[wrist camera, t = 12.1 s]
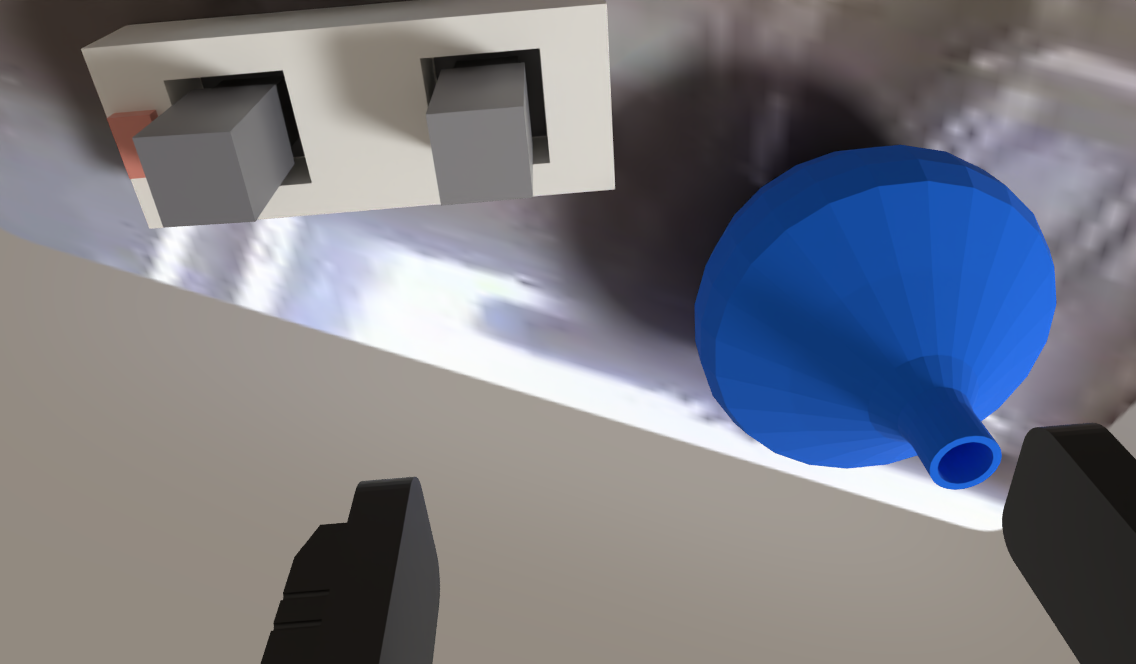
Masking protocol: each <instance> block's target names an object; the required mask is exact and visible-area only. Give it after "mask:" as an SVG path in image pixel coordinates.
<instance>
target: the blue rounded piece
mask: <svg viewBox="0 0 1136 664" xmlns="http://www.w3.org/2000/svg"><path fill="white" fill-rule="evenodd" d="M1055 307H1056V289H1055V272H1054V264H1053V261H1052V257H1051V254H1050V250H1049V248H1048V245H1047V243H1046V241H1045V239H1044V236H1043V234H1042V232H1041V229H1040V227H1039V225H1038V223H1037V220H1036V218H1035V216H1034V214H1033V213H1032V212H1031V211H1030V210H1029V209H1028V208H1027V207H1026V206H1025V205H1024V204H1023V203H1022V202H1021V201H1020V200H1019V199H1018V198H1017V196H1016V195H1015V194H1014V193H1013V192H1012V191H1011V190H1010V189H1009V188H1008V187H1007V186H1006V185H1004V184H1003V183H1002V182H1000V181H999V180H997V179H996V178H995V177H993V176H992V175H990V174H989V173H988V172H986V171H985V170H983V169H981V168H979V167H977V166H975V165H973V164H971V163H968V162H966V161H964V160H962V159H960V158H958V157H956V156H954V155H952V154H950V153H948V152H945V151H938V150H932V149H925V148H918V147H912V146H905V145H893V146H882V147H871V148H862V149H853V150H844V151H835V152H832V153H829V154H826V155H823V156H820V157H818V158H815V159H812V160H809V161H806V162H804V163H801V164H798V165H796V166H794V167H792V168H791V169H789V170H788V171H786V172H785V173H783V174H781V175H780V176H778V177H777V178H775V179H774V180H772V181H770V182H769V183H767V184H766V185H764V186H763V187H761V188H760V189H759V190H758V191H757V192H756V193H755V194H754V195H753V196H752V197H751V198H750V199H749V200H748V201H747V202H746V203H745V204H744V205H743V207H742V208H741V209H740V210H739V211H738V212H737V213H736V214H735V215H734V216H733V218H732V219H731V221H730V223H729V224H728V226H727V228H726V229H725V231H724V233H723V234H722V236H721V238H720V239H719V241H718V243H717V244H716V246H715V248H714V250H713V252H712V254H711V256H710V258H709V260H708V262H707V264H706V266H705V270H704V273H703V277H702V280H701V284H700V287H699V291H698V294H697V298H696V301H695V342H696V346H697V349H698V353H699V357H700V360H701V364H702V367H703V369H704V372H705V375H706V378H707V381H708V384H709V386H710V389H711V392H712V395H713V397H714V398H715V399H716V400H717V402H718V403H719V404H720V405H721V407H722V408H723V409H724V411H725V412H726V413H727V414H728V416H729V417H730V418H731V419H732V421H733V422H734V423H735V424H736V425H737V426H739V427H740V428H741V429H742V430H743V431H744V432H746V433H747V434H748V435H749V436H751V437H752V438H754V439H755V440H757V441H758V442H760V443H761V444H763V445H764V446H766V447H767V448H769V449H770V450H771V451H773V452H774V453H777V454H780V455H782V456H785V457H788V458H791V459H794V460H797V461H800V462H803V463H806V464H809V465H818V466H828V467H837V468H856V467H866V466H876V465H886V464H890V463H893V462H896V461H900V460H903V459H907V458H910V457H913V456H917V455H918V456H919V458H920V460H921V461H922V463H923V465H924V466H925V468H926V470H927V471H928V473H929V475H930V476H931V478H932V479H933V481H934V482H935V483H936V484H937V485H939V486H941V487H943V488H946V489H954V490H956V489H965V488H969V487H972V486H975V485H977V484H979V483H981V482H983V481H984V480H986V479H987V478H988V477H990V476H991V475H992V474H993V473H994V472H995V471H996V469H997V467H998V466H999V464H1000V461H1001V457H1002V455H1001V449H1000V447H999V445H998V444H997V442H996V441H995V440H994V438H993V437H992V436H991V434H990V433H989V432H988V430H987V429H986V428H985V426H984V425H983V424H982V422H981V421H982V420H983V419H985V418H986V417H987V416H989V415H990V414H991V413H993V412H994V411H995V410H997V409H998V408H999V407H1000V406H1001V405H1002V404H1003V403H1004V402H1005V400H1006V399H1007V398H1008V397H1009V396H1010V395H1011V394H1012V393H1013V392H1014V390H1015V389H1016V388H1017V387H1018V386H1019V385H1020V384H1021V383H1022V382H1023V380H1024V379H1025V378H1026V377H1027V376H1028V374H1029V372H1030V370H1031V368H1032V367H1033V365H1034V363H1035V361H1036V360H1037V358H1038V356H1039V354H1040V352H1041V351H1042V349H1043V347H1044V345H1045V344H1046V342H1047V338H1048V335H1049V331H1050V327H1051V323H1052V319H1053V315H1054V311H1055Z"/></svg>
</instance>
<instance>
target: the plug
mask: <svg viewBox="0 0 1136 664" xmlns="http://www.w3.org/2000/svg"><path fill="white" fill-rule="evenodd" d="M298 138H299V134H298V129H297V125H296V121H295V117H294V112H293V108H292V104H291V100H290V96H289V92H288V88H287V84H286V81H285V77H284V76H280V77H264V78H248V79H232V80H222V81H221V82H220V83H219V84H218V85H216V86H215V87H214V88H204V89H192V90H191V91H189V92H188V93H187V94H186V95H184V96H183V97H182V98H181V99H180V100H178V101H177V102H176V103H175V104H173V105H172V106H171V107H170V108H168V109H167V110H166V111H165V112H163V113H162V114H161V115H160V116H158V117H157V118H156V119H155V120H154V121H152V122H151V123H150V124H149V125H147V126H146V127H145V128H144V129H142V130H141V131H140V132H139V133H137V134H136V135H135V136H134V137H133V138H132V139H133V142H134V145H135V148H136V151H137V154H138V156H139V159H140V162H141V165H142V168H143V171H144V174H145V176H146V179H147V182H148V185H149V188H150V191H151V194H152V197H153V199H154V202H155V205H156V208H157V211H158V214H159V217H160V220H161V222H162V225H163V227H177V226H193V225H209V224H224V223H240V222H256V220H257V219H258V217H259V216H260V214H261V213H262V211H263V210H264V208H265V207H266V205H267V204H268V202H269V201H270V199H271V198H272V196H273V195H274V193H275V192H276V190H277V189H278V188H279V186H280V185H281V183H282V182H283V180H284V179H285V177H286V176H287V174H288V173H289V171H290V170H291V168H292V167H293V165H294V164H295V162H294V158H293V154H292V150H291V147H292V146H293V145H294V143H295V142H296V140H297V139H298Z"/></svg>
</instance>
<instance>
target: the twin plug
mask: <svg viewBox="0 0 1136 664" xmlns="http://www.w3.org/2000/svg"><path fill="white" fill-rule="evenodd" d="M426 120H427V126H428V132H429V138H430V143H431V149H432V155H433V161H434V167H435V173H436V179H437V185H438V191H439V196H440V202H441V205H452V204H464V203H476V202H487V201H499V200H511V199H523V198H533V142H532V132H531V122H530V112H529V102H528V92H527V82H526V72H525V62H522V63H519V62H518V56H512V57H500V58H489V59H477V60H465V61H456V62H455V65H454V68H452V69H441V72H440V75H439V78H438V80H437V83H436V86H435V89H434V92H433V95H432V98H431V101H430V103H429V106H428V109H427V112H426Z"/></svg>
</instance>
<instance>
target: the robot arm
mask: <svg viewBox="0 0 1136 664" xmlns="http://www.w3.org/2000/svg"><path fill="white" fill-rule="evenodd" d="M1002 527H1003V534H1004V539H1005V542H1006V546H1007V548H1008V551H1009V553H1010V555H1011V557H1012V559H1013V561H1014V562H1015V564H1016V566H1017V567H1018V569H1019V570H1020V571H1021V573H1022V575H1023V576H1024V578H1025V579H1026V581H1027V582H1028V584H1029V586H1030V587H1031V588H1032V590H1033V592H1034V593H1035V595H1036V596H1037V598H1038V599H1039V601H1040V602H1041V604H1042V606H1043V607H1044V609H1045V610H1046V612H1047V613H1048V615H1049V616H1050V618H1051V619H1052V621H1053V622H1054V623H1055V626H1056V627H1057V629H1058V630H1059V632H1060V633H1061V635H1062V636H1063V638H1064V639H1065V641H1066V643H1067V644H1068V646H1069V647H1070V649H1071V650H1072V652H1073V653H1074V655H1075V656H1076V658H1077V659H1078V661H1079V663H1080V664H1136V459H1135V458H1134V457H1133V456H1132V455H1131V454H1130V453H1129V452H1128V451H1127V450H1126V449H1125V448H1124V446H1122V444H1121V443H1120V442H1119V441H1118V440H1117V439H1116V438H1115V437H1114V436H1113V435H1112V434H1111V433H1110V432H1109V431H1108V430H1107V429H1106V428H1105V427H1103V426H1102V425H1100V424H1097V423H1083V424H1071V425H1059V426H1047V427H1037V428H1033V429H1031V430H1030V431H1029V432H1028V433H1027V435H1026V436H1025V439H1024V441H1023V445H1022V448H1021V452H1020V455H1019V458H1018V462H1017V465H1016V469H1015V472H1014V475H1013V479H1012V482H1011V486H1010V489H1009V492H1008V496H1007V499H1006V503H1005V506H1004V510H1003V516H1002ZM283 596H284V597H283V600H281V601H280V604H279V607H278V611H277V614H276V617H275V620H274V630H273V631H271V633H270V636H269V639H268V642H267V645H266V648H265V652H264V655H263V658H262V661H261V664H432V662H433V653H434V644H435V636H436V627H437V618H438V610H439V598H440V578H439V566H438V558H437V553H436V548H435V544H434V540H433V535H432V531H431V527H430V522H429V518H428V514H427V510H426V505H425V501H424V496H423V492H422V488H421V484H420V481H419V479H418V478H417V477H406V478H394V479H382V480H371V481H361V482H360V483H359V484H358V486H357V488H356V491H355V494H354V498H353V502H352V507H351V510H350V514H349V518H348V522H347V523H337V524H326V525H320V526H319V527H318V529H317V530H316V531H315V532H314V533H313V535H312V536H311V537H310V539H309V540H308V541H307V542H306V544H305V545H304V546H303V547H302V548H301V550H300V551H299V552H298V553H297V555H296V556H295V557H294V560H293V563H292V567H291V570H290V573H289V576H288V579H287V582H286V586H285V589H284V592H283Z"/></svg>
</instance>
